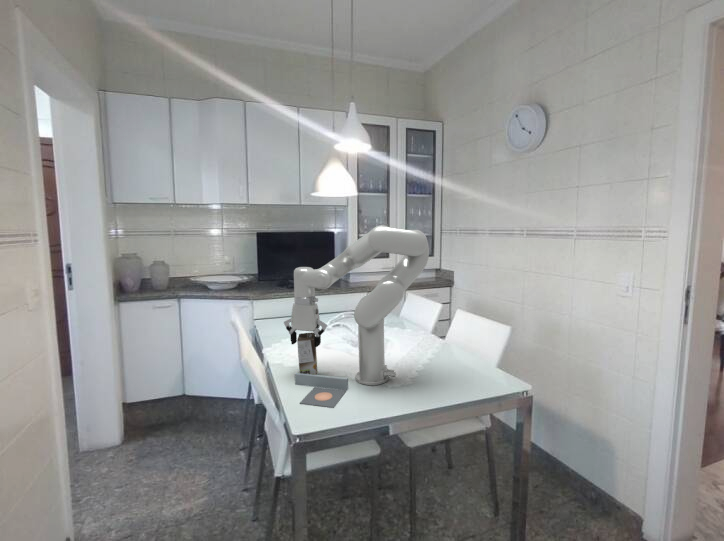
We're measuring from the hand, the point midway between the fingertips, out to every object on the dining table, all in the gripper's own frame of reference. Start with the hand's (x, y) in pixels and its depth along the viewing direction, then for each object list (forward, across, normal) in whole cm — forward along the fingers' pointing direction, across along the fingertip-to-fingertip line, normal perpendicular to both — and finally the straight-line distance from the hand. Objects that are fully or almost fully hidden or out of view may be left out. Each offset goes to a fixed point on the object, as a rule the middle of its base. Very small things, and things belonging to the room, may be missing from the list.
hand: (305, 344), depth 146 cm
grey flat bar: (+12, -9, +7) cm, 17 cm away
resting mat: (+12, -13, +14) cm, 23 cm away
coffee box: (+13, -1, 0) cm, 13 cm away
